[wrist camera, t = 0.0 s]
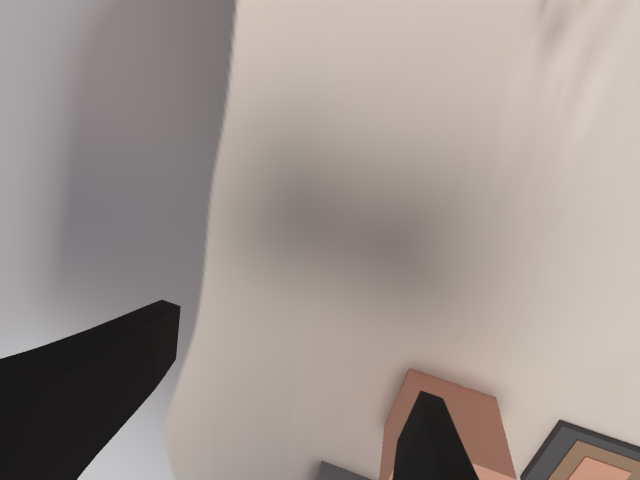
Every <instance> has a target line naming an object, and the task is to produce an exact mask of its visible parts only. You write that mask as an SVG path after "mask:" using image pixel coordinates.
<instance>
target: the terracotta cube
mask: <svg viewBox="0 0 640 480" xmlns="http://www.w3.org/2000/svg"><path fill="white" fill-rule="evenodd" d="M420 390H421V391H424V392H427V393H430V394H433V395H436V396H439V397H441V398H443V399H444V401H445V403H446V406H447V408H448V411H449V413H450V415H451V418H452V420H453V422H454V425H455V427H456V430H457V432H458V434H459V436H460V439H461V441H462V443H463V446H464V448H465V450H466V452H467V454H468V457H469V459H470V461H471V463H472V465H473V467H474V469H475V471H476V474H477V476H478V478H479V480H517V479H516V475H515V471H514V467H513V463H512V459H511V455H510V451H509V447H508V443H507V439H506V435H505V431H504V428H503V424H502V420H501V416H500V412H499V408H498V404H497V400H496V398H495V397H492V396H489V395H486V394H483V393H480V392H477V391H474V390H471V389H468V388H465V387H462V386H459V385H457V384H454V383H451V382H448V381H445V380H442V379H439V378H436V377H433V376H430V375H427V374H424V373H421V372H418V371H416V370H413V369H410V368H409V371H408V373H407V375H406V378H405V380H404V382H403V385H402V387H401V389H400V392H399V394H398V396H397V399H396V401H395V403H394V406H393V408H392V410H391V413H390V415H389V418H388V420H387V422H386V425H385V427H384V437H383V447H382V458H381V468H380V479H379V480H392V479H393V470H394V462H395V454H396V447H397V440H398V438H399V436H400V434H401V432H402V429H403V427H404V425H405V423H406V421H407V418H408V416H409V414H410V412H411V410H412V408H413V405H414V403H415V401H416V399H417V397H418V395H419V392H420Z"/></svg>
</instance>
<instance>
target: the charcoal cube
mask: <svg viewBox="0 0 640 480" xmlns="http://www.w3.org/2000/svg"><path fill="white" fill-rule="evenodd" d="M316 480H371V479H368V478H366V477H363V476H360V475H358V474H355V473H352V472H350V471H347V470H345V469H342V468H339V467H337V466H334V465H332V464H329V463H326V462H324V461H322V462H321V465H320V468H319V471H318V474H317V477H316Z"/></svg>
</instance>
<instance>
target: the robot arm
mask: <svg viewBox="0 0 640 480" xmlns="http://www.w3.org/2000/svg"><path fill="white" fill-rule="evenodd" d="M179 318H180V306H178V305H175V304H173V303H170V302H167V301H164V300H160V301H158V302H155V303H152V304H150V305H147V306H145V307H143V308H140V309H137V310H135V311H133V312H130V313H128V314H126V315H123V316H121V317H118V318H116V319H113V320H111V321H108V322H106V323H103V324H101V325H98V326H96V327H93V328H91V329H88V330H86V331H83V332H80V333H77V334H75V335H72V336H69V337H66V338H64V339H61V340H58V341H56V342H53V343H50V344H47V345H44V346H41V347H38V348H35V349H32V350H29V351H26V352H22V353H19V354H16V355H12V356H9V357H6V358H2V359H0V480H77V479H78V477H79V476H80V475H81V473H82V472H83V471H84V470H85V468H86V467H87V466H88V465H89V464H90V462H91V461H92V460H93V459H94V458H95V456H96V455H97V454H98V453H99V452H100V451H101V450H102V448H103V447H104V446H105V445H106V444H107V443H108V442H109V440H111V438H112V437H113V436H114V435H115V434H116V433H117V432H118V431H119V429H120V428H121V427H122V426H123V425H124V424H125V423H126V421H127V420H128V419H129V418H130V417H131V416H132V415H133V414H134V413H135V411H136V410H137V409H138V408H139V407H140V406H141V405H142V403H143V402H144V401H145V400H146V399H147V398H148V396H150V394H151V393H152V392H153V391H154V390H155V388H156V387H157V386H158V384H159V383H160V381H161V380H162V379H163V377H164V376H165V374H166V373H167V371H168V370H169V368H170V367H171V366H172V364H173V363H174V361H175V360H176V351H177V340H178V329H179ZM392 480H479V478H478V476H477V474H476V471H475V469H474V467H473V465H472V463H471V461H470V459H469V457H468V454H467V452H466V450H465V448H464V446H463V443H462V441H461V439H460V436H459V434H458V432H457V430H456V427H455V425H454V422H453V420H452V418H451V415H450V413H449V411H448V408H447V406H446V403H445V401H444V399H443V398H441V397H439V396H436V395H433V394H430V393H427V392H424V391H421V390H420V392H419V395H418V397H417V399H416V401H415V403H414V405H413V408H412V410H411V412H410V414H409V416H408V418H407V421H406V423H405V425H404V427H403V429H402V432H401V434H400V436H399V438H398V440H397V447H396V454H395V462H394V470H393V479H392Z"/></svg>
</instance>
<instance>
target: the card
mask: <svg viewBox="0 0 640 480" xmlns="http://www.w3.org/2000/svg"><path fill="white" fill-rule="evenodd" d="M520 478H521V480H640V448H639V447H636V446H633V445H630V444H627V443H624V442H622V441H619V440H616V439H613V438H610V437H607V436H604V435H601V434H598V433H595V432H592V431H589V430H586V429H584V428H581V427H578V426H575V425H572V424H569V423H566V422H563V421H559V422H558V424H557V425H556V427H555V428H554V429H553V431H552V432H551V434H550V435H549V437H548V438H547V440H546V441H545V442H544V444H543V445H542V447H541V448H540V450H539V451H538V452H537V454H536V455H535V457H534V458H533V460H532V461H531V462H530V464H529V465H528V467H527V468H526V470H525V471H524V473H523V474H522V475H521V477H520Z"/></svg>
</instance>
